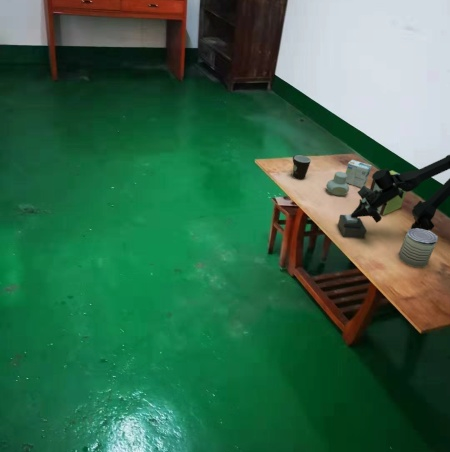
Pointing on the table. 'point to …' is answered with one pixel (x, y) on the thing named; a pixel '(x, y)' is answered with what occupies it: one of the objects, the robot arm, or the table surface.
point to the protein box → (391, 204)
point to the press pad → (350, 219)
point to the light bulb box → (357, 173)
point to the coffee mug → (300, 166)
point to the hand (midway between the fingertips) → (351, 216)
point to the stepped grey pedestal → (351, 228)
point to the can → (417, 247)
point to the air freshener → (338, 184)
